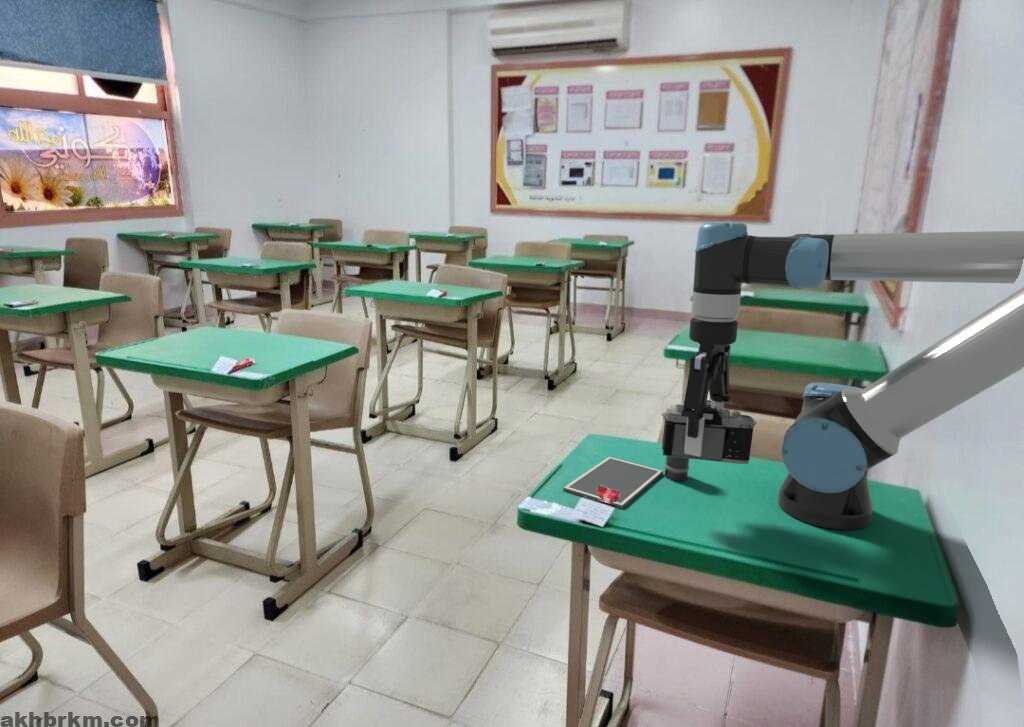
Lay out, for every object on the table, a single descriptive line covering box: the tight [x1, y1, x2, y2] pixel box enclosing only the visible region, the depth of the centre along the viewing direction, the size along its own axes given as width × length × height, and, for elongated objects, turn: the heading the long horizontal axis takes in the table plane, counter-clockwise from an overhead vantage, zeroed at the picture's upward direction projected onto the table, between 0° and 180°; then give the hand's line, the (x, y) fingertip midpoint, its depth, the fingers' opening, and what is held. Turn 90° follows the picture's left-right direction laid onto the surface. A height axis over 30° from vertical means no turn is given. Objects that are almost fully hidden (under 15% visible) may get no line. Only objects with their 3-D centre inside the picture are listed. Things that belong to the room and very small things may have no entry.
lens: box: [664, 456, 690, 482], centre depth 128 cm, size 5×5×7 cm
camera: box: [661, 399, 757, 465], centre depth 111 cm, size 16×9×10 cm, turn 81°
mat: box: [562, 456, 664, 510], centre depth 125 cm, size 12×19×1 cm, turn 146°
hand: (703, 445), depth 112 cm, fingers closed on camera, 10 cm apart
